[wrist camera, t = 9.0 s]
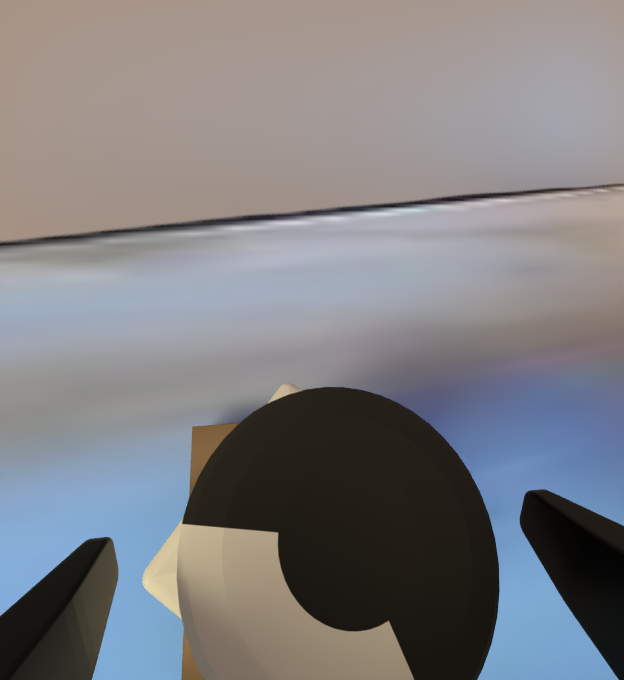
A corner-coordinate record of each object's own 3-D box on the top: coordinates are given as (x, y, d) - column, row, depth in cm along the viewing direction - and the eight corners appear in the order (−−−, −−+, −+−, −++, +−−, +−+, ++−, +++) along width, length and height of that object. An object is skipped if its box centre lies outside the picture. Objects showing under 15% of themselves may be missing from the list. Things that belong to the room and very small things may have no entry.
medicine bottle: (280, 427, 19) (293, 296, 8) (400, 507, 18) (594, 475, 7) (186, 562, 16) (17, 627, 5) (325, 672, 14) (475, 1057, 4)
